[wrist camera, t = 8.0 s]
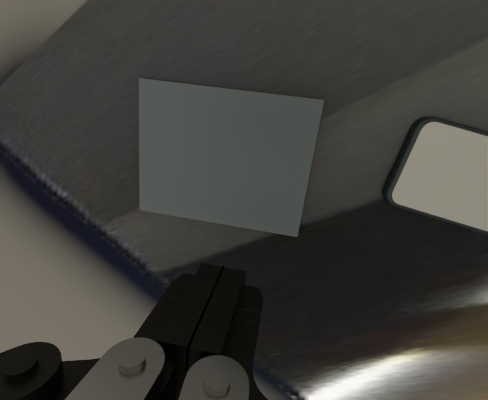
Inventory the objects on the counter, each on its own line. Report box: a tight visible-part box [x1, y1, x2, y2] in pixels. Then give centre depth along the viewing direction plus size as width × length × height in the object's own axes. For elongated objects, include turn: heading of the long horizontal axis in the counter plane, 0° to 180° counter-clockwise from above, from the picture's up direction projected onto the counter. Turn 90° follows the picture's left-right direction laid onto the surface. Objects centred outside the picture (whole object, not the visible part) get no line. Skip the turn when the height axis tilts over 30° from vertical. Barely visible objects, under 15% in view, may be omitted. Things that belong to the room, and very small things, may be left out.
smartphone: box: [383, 117, 488, 236], centre depth 27 cm, size 9×2×16 cm
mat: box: [139, 78, 324, 237], centre depth 30 cm, size 18×14×1 cm
